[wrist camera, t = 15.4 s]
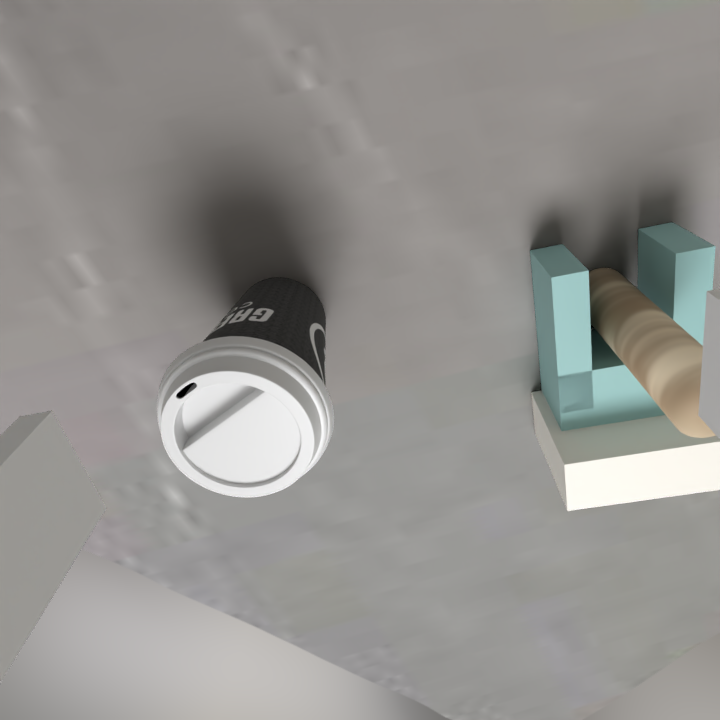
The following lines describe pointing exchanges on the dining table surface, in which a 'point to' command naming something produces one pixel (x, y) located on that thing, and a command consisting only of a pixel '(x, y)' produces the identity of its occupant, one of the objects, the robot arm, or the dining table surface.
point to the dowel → (650, 348)
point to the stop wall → (624, 459)
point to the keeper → (587, 347)
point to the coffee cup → (251, 395)
